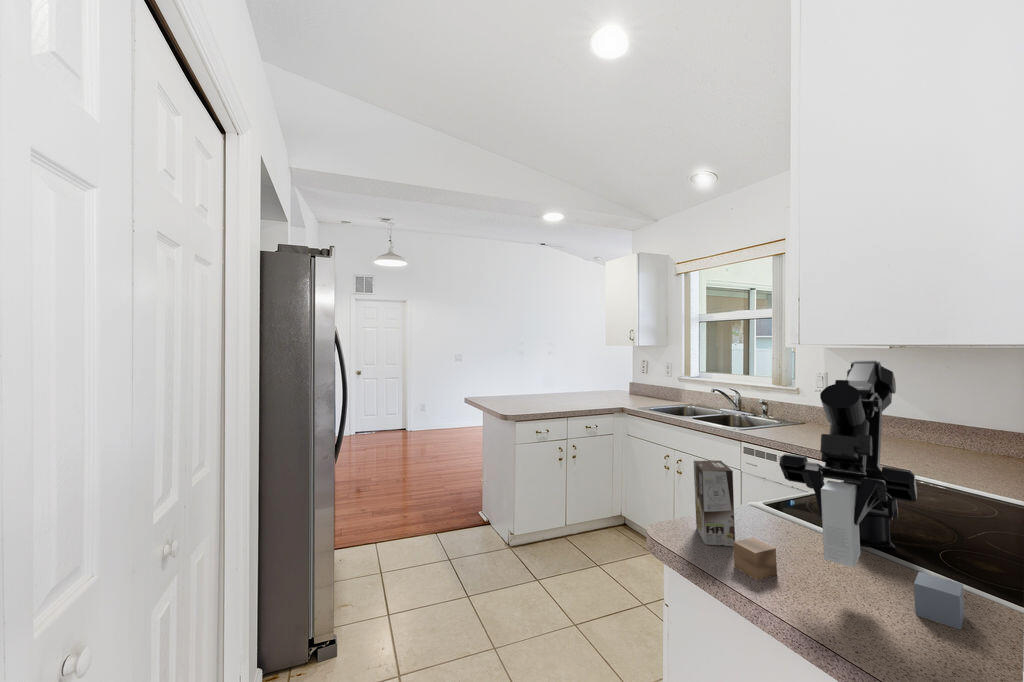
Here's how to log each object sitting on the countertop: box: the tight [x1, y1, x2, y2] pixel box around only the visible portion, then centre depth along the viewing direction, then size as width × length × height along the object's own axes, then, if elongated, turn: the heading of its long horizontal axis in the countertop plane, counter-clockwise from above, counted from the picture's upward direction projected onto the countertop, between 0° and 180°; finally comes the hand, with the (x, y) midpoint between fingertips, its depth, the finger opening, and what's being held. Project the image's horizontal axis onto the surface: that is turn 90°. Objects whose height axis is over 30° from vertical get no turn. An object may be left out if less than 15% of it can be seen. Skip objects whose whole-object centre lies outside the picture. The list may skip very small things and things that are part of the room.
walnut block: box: [733, 537, 778, 581], centre depth 82 cm, size 5×5×5 cm
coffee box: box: [693, 459, 736, 547], centre depth 97 cm, size 9×6×16 cm
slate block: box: [913, 571, 965, 630], centre depth 68 cm, size 5×5×5 cm
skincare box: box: [821, 480, 861, 568], centre depth 73 cm, size 6×4×12 cm
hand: (838, 520), depth 72 cm, fingers closed on skincare box, 4 cm apart
